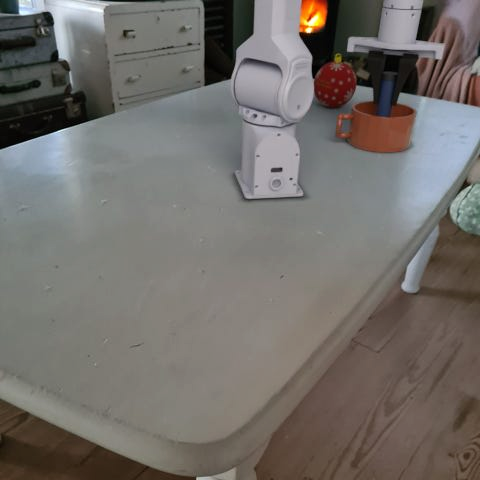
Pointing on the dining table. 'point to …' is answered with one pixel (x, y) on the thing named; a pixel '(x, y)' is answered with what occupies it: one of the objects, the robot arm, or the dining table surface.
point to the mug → (378, 127)
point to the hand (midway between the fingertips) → (385, 103)
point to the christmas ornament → (335, 83)
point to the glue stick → (386, 94)
